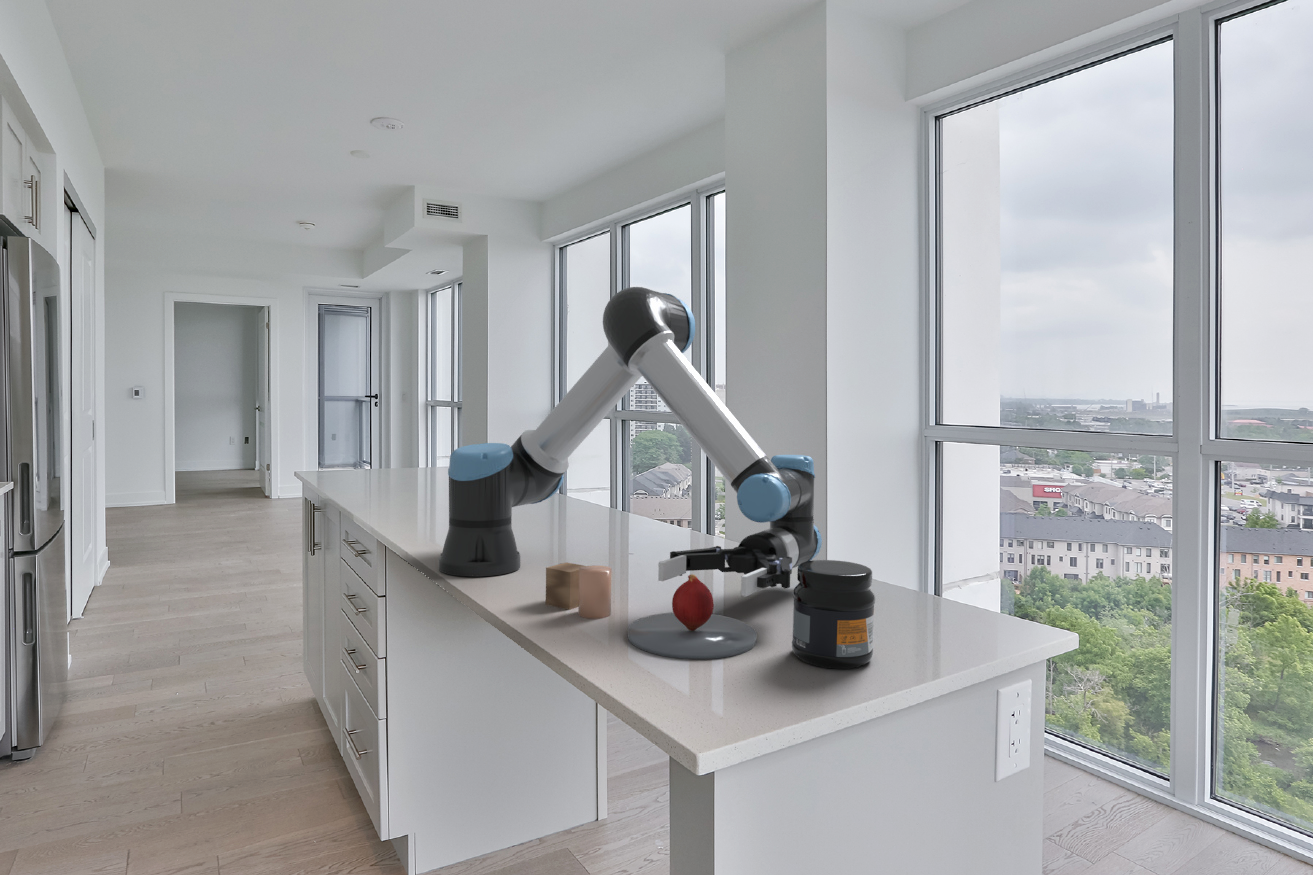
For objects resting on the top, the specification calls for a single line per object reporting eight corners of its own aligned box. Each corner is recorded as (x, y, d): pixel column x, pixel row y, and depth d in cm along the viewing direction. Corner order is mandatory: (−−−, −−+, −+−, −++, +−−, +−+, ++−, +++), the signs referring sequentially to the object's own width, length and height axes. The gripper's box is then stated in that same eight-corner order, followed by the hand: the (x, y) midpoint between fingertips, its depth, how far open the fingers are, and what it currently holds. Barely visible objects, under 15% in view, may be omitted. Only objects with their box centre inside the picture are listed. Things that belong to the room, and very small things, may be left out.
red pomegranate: (691, 621, 115) (692, 567, 115) (721, 630, 111) (723, 574, 111) (663, 629, 111) (664, 573, 111) (693, 639, 107) (694, 581, 107)
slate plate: (601, 641, 109) (602, 634, 108) (671, 612, 124) (671, 605, 124) (717, 668, 99) (717, 661, 99) (777, 633, 114) (777, 626, 114)
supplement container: (889, 666, 101) (893, 573, 100) (818, 675, 97) (821, 579, 97) (842, 641, 111) (845, 556, 110) (776, 648, 107) (779, 561, 106)
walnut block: (545, 604, 127) (546, 567, 126) (565, 598, 131) (566, 562, 130) (569, 610, 124) (570, 572, 123) (589, 603, 128) (590, 566, 128)
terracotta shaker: (571, 614, 121) (572, 569, 121) (591, 607, 125) (592, 563, 125) (597, 620, 118) (598, 574, 118) (617, 613, 123) (618, 568, 122)
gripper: (839, 588, 123) (780, 620, 105) (700, 566, 137) (628, 590, 119) (840, 540, 122) (782, 564, 105) (701, 523, 136) (629, 541, 119)
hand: (700, 578), depth 112 cm, fingers open, 13 cm apart
